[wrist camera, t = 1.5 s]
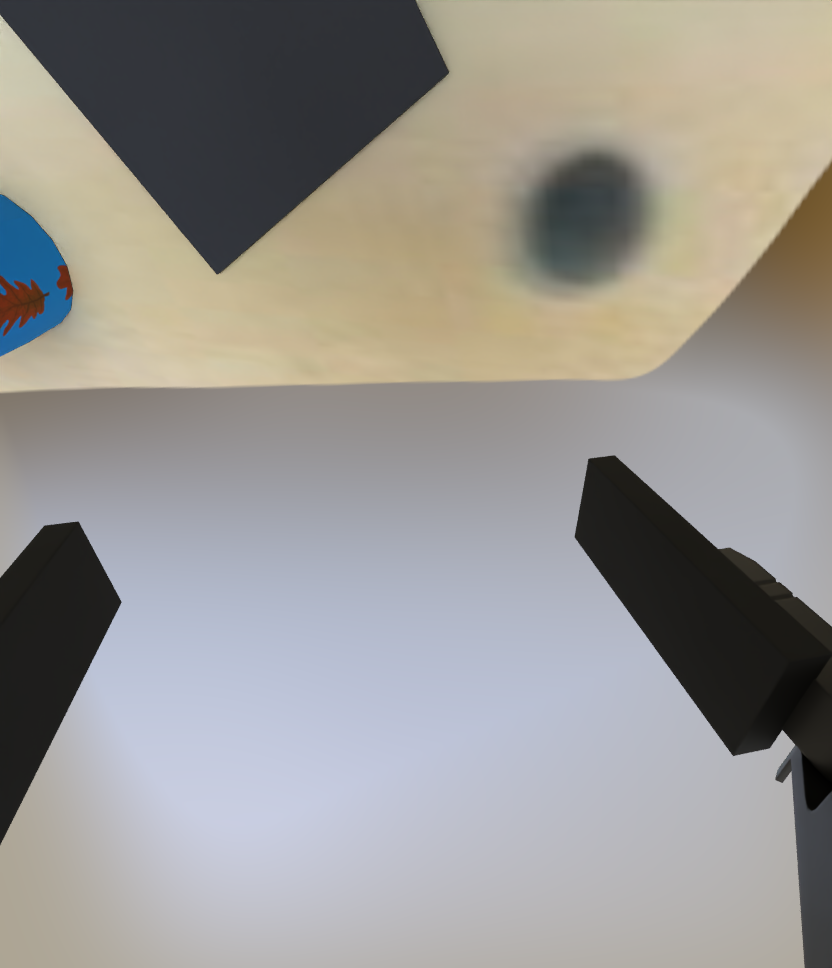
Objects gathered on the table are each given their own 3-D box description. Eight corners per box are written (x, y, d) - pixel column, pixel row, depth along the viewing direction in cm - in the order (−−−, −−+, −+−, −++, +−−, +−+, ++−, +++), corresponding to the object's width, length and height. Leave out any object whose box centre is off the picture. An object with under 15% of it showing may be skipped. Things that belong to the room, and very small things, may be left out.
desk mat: (0, 6, 27) (-9, 5, 26) (226, -401, 18) (219, -415, 18) (220, 272, 35) (216, 274, 34) (449, 73, 26) (448, 72, 26)
